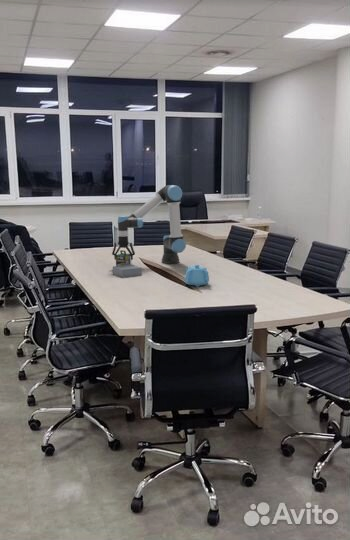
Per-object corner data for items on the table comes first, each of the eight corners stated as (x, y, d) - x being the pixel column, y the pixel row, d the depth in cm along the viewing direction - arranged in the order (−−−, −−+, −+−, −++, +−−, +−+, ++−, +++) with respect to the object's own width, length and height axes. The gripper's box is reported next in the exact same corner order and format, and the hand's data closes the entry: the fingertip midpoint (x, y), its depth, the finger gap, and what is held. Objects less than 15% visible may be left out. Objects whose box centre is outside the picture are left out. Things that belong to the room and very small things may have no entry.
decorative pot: (183, 287, 324) (183, 267, 322) (185, 281, 340) (185, 262, 337) (208, 287, 323) (208, 267, 320) (209, 282, 338) (209, 263, 336)
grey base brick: (112, 274, 368) (112, 266, 367) (131, 272, 377) (131, 264, 376) (122, 277, 355) (122, 269, 354) (141, 275, 364) (141, 267, 362)
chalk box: (131, 268, 390) (131, 249, 387) (126, 270, 382) (125, 251, 379) (121, 267, 393) (121, 249, 391) (115, 269, 385) (115, 250, 382)
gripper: (107, 236, 380) (108, 264, 384) (136, 236, 378) (137, 264, 382) (109, 235, 387) (110, 262, 392) (138, 235, 385) (139, 263, 389)
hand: (123, 263), depth 387 cm, fingers closed on chalk box, 10 cm apart
